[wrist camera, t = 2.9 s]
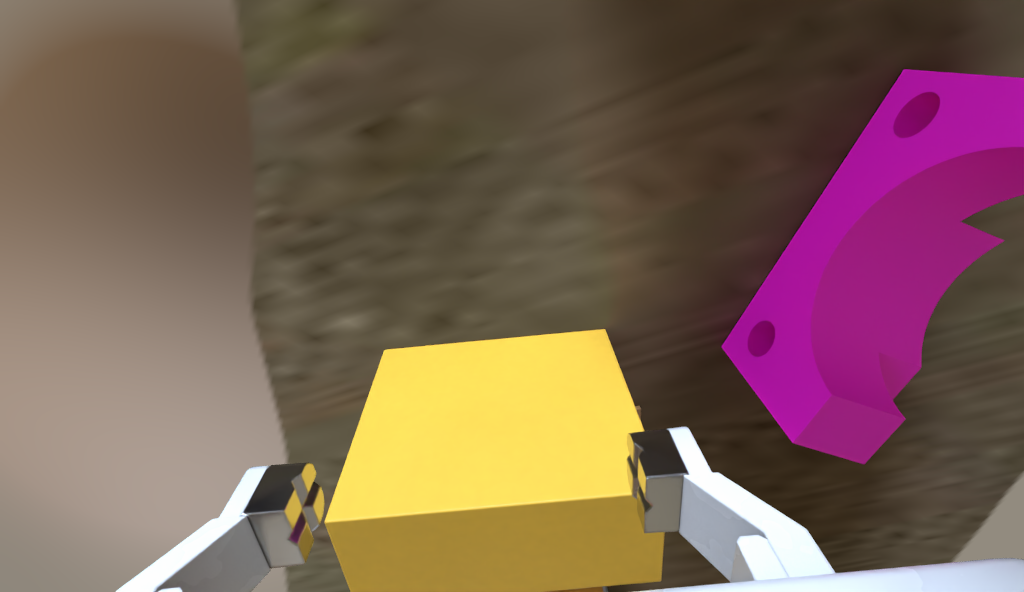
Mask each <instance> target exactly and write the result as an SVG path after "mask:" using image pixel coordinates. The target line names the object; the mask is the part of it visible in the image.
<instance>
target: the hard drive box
mask: <svg viewBox="0 0 1024 592" xmlns="http://www.w3.org/2000/svg"><path fill="white" fill-rule="evenodd" d="M546 592H608V588H607V586H603V587H591V588H580V589H569V590H558V591H546Z"/></svg>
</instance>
